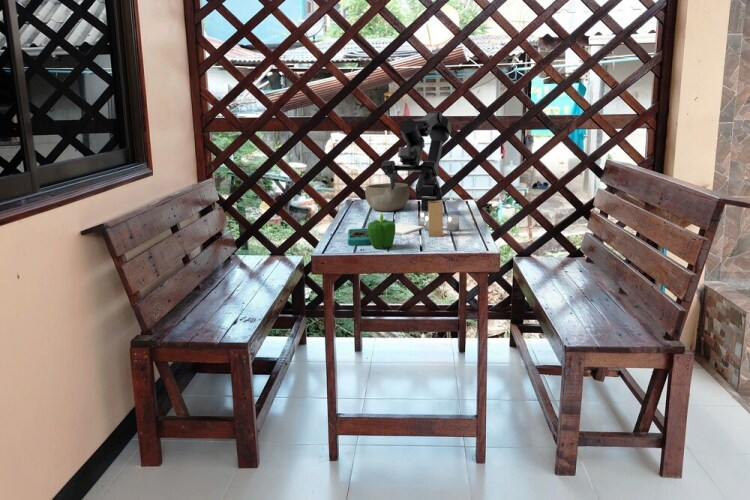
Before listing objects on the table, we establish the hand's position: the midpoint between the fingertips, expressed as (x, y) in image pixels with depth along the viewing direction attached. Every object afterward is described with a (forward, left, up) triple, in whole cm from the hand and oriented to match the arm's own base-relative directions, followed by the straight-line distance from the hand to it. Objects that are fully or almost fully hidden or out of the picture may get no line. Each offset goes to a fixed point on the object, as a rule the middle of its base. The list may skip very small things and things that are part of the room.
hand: (404, 189), depth 217 cm
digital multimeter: (+19, -5, -15) cm, 25 cm away
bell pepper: (+24, +7, -14) cm, 28 cm away
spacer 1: (-10, +2, -14) cm, 17 cm away
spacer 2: (-5, +7, -14) cm, 16 cm away
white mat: (0, -4, -14) cm, 14 cm away
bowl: (-30, -29, -14) cm, 44 cm away
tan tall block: (+2, +13, -14) cm, 19 cm away
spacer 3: (-7, +14, -14) cm, 21 cm away
